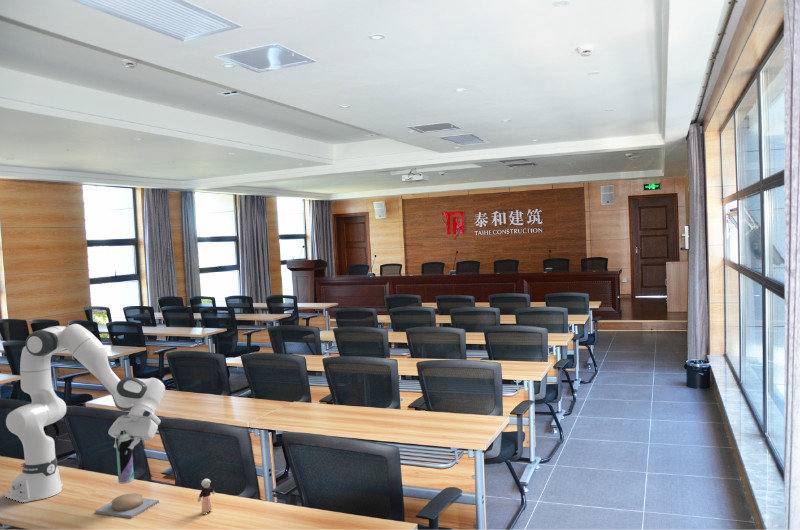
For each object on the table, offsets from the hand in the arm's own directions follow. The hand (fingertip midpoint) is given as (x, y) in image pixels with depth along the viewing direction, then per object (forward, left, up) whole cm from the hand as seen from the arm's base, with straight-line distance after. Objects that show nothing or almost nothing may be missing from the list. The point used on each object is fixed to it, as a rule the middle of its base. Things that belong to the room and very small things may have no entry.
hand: (122, 448), depth 233 cm
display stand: (0, +1, -24) cm, 24 cm away
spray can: (0, +1, -13) cm, 13 cm away
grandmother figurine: (+34, +6, -24) cm, 42 cm away
